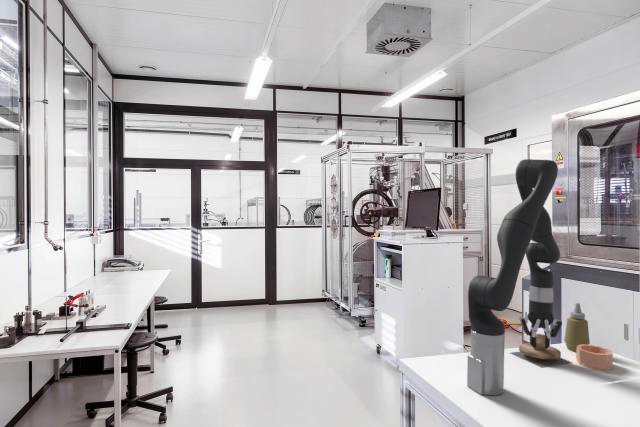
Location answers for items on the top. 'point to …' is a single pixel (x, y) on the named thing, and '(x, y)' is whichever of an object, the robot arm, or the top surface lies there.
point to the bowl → (594, 357)
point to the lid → (540, 349)
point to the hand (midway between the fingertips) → (539, 347)
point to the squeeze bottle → (576, 329)
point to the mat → (541, 360)
